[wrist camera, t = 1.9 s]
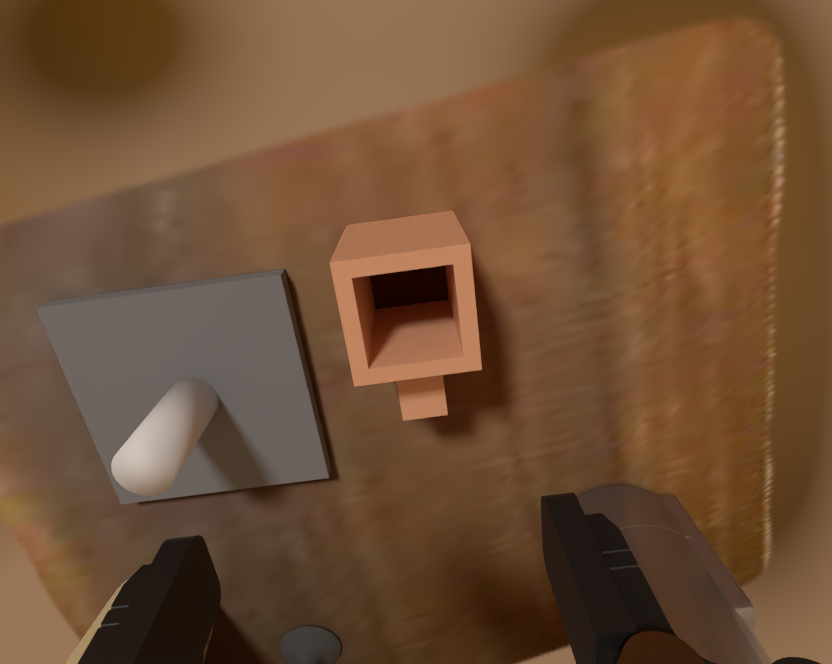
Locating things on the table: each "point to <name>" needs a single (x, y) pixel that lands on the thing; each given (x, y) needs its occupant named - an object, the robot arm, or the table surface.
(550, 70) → the table surface
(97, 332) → the base
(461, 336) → the orange hollow box
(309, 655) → the sundae
